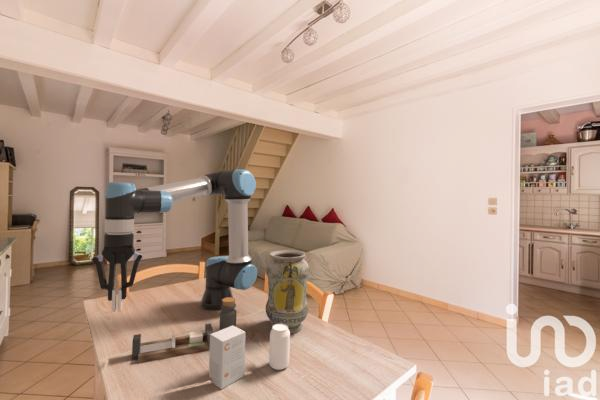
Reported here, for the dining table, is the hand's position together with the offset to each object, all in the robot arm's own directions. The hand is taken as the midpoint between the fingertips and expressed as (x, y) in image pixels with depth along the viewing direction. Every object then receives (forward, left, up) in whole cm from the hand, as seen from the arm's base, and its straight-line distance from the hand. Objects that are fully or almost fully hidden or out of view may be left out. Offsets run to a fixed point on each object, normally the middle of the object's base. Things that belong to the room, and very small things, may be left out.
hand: (116, 310), depth 85 cm
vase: (-58, -4, -16) cm, 60 cm away
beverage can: (-46, +20, -16) cm, 53 cm away
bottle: (-34, -1, -16) cm, 38 cm away
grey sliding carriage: (-11, +1, -15) cm, 18 cm away
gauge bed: (-17, 0, -16) cm, 24 cm away
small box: (-30, +20, -17) cm, 39 cm away
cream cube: (-23, 0, -15) cm, 28 cm away
